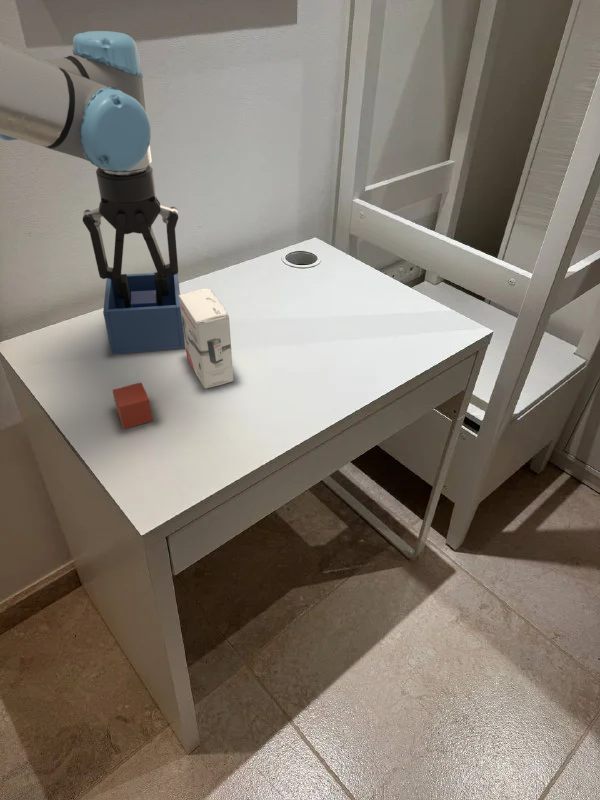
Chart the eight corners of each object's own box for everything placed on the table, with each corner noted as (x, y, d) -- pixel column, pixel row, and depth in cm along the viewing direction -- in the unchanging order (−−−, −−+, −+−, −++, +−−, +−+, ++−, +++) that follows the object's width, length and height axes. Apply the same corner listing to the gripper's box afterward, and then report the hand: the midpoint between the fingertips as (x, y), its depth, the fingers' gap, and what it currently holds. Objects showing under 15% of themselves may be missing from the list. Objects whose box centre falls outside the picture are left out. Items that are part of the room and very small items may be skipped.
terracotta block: (123, 429, 78) (119, 407, 75) (116, 411, 81) (112, 389, 78) (152, 421, 80) (149, 399, 77) (145, 403, 82) (141, 382, 80)
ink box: (184, 359, 91) (177, 292, 83) (214, 351, 93) (210, 285, 85) (203, 391, 85) (197, 322, 77) (234, 382, 87) (232, 314, 79)
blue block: (133, 325, 92) (130, 304, 90) (133, 312, 95) (130, 291, 93) (159, 324, 93) (156, 302, 91) (158, 311, 96) (156, 290, 94)
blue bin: (111, 354, 91) (103, 312, 86) (114, 316, 99) (106, 275, 94) (185, 348, 93) (180, 306, 88) (181, 311, 101) (177, 271, 96)
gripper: (53, 177, 74) (88, 329, 89) (190, 174, 77) (201, 321, 93) (59, 158, 80) (91, 304, 95) (187, 156, 83) (198, 298, 98)
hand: (145, 313), depth 94 cm, fingers open, 4 cm apart
